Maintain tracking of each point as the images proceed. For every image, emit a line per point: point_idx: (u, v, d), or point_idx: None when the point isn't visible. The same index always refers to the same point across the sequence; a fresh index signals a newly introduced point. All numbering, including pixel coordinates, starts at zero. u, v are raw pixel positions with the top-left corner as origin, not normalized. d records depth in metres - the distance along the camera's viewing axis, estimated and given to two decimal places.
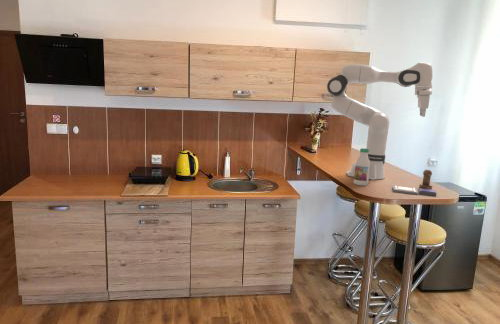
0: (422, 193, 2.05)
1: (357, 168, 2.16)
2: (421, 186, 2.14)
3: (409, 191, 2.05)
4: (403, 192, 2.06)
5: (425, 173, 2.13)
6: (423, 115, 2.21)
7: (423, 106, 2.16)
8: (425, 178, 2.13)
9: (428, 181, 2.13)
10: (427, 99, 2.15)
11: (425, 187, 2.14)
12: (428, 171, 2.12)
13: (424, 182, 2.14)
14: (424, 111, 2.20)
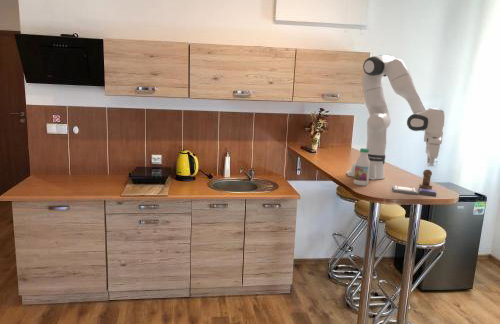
0: (422, 193, 2.05)
1: (357, 168, 2.16)
2: (421, 186, 2.14)
3: (409, 191, 2.05)
4: (403, 192, 2.06)
5: (425, 173, 2.13)
6: (431, 164, 2.07)
7: (432, 156, 2.02)
8: (425, 178, 2.13)
9: (428, 181, 2.13)
10: (437, 149, 2.01)
11: (425, 187, 2.14)
12: (428, 171, 2.12)
13: (424, 182, 2.14)
14: (432, 160, 2.06)
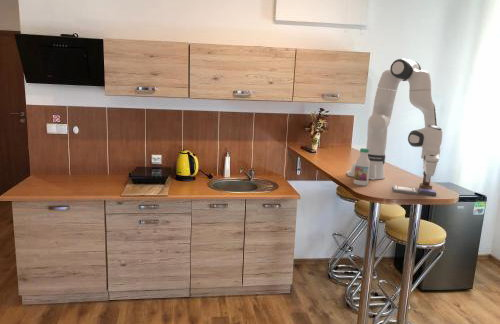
0: (422, 193, 2.05)
1: (357, 168, 2.16)
2: (421, 186, 2.14)
3: (409, 191, 2.05)
4: (403, 192, 2.06)
5: None
6: (427, 180, 2.12)
7: (428, 173, 2.04)
8: (425, 178, 2.13)
9: None
10: (434, 167, 2.03)
11: (425, 187, 2.14)
12: None
13: (424, 182, 2.14)
14: (428, 177, 2.10)
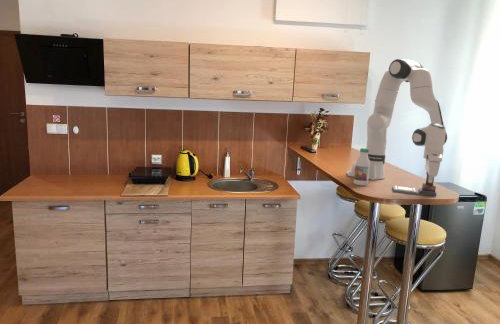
0: (422, 193, 2.05)
1: (357, 168, 2.16)
2: (424, 186, 2.05)
3: (409, 191, 2.05)
4: (403, 192, 2.06)
5: None
6: (430, 181, 2.03)
7: (431, 174, 1.96)
8: (428, 178, 2.04)
9: None
10: (437, 167, 1.95)
11: (428, 187, 2.05)
12: None
13: (427, 182, 2.05)
14: (431, 177, 2.02)
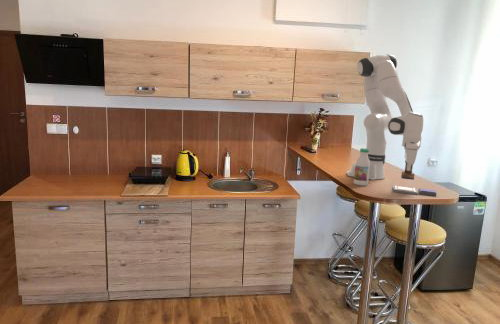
0: (422, 193, 2.05)
1: (357, 168, 2.16)
2: (403, 174, 2.08)
3: (409, 191, 2.05)
4: (403, 192, 2.06)
5: None
6: (408, 169, 2.05)
7: (409, 161, 1.98)
8: None
9: (410, 169, 2.06)
10: (414, 154, 1.97)
11: (407, 175, 2.07)
12: None
13: (406, 170, 2.07)
14: (409, 165, 2.04)
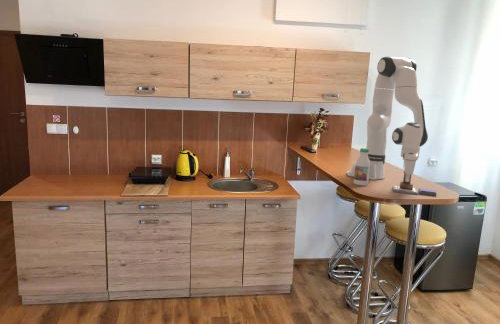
0: (422, 193, 2.05)
1: (357, 168, 2.16)
2: (402, 185, 2.09)
3: (409, 191, 2.05)
4: (403, 192, 2.06)
5: None
6: (407, 180, 2.04)
7: (407, 172, 1.99)
8: None
9: (409, 179, 2.08)
10: (412, 165, 1.98)
11: (406, 186, 2.08)
12: None
13: None
14: (408, 176, 2.03)
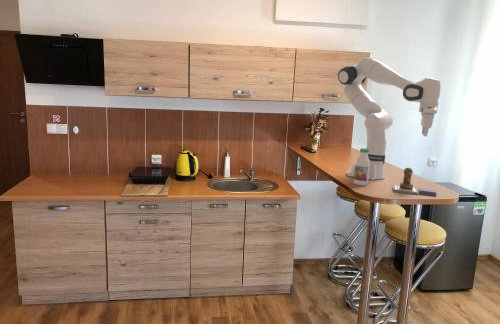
0: (422, 193, 2.05)
1: (357, 168, 2.16)
2: (402, 185, 2.09)
3: (409, 191, 2.05)
4: (403, 192, 2.06)
5: (405, 171, 2.07)
6: (425, 135, 2.06)
7: (425, 125, 2.00)
8: (406, 176, 2.08)
9: (409, 179, 2.08)
10: (431, 118, 1.99)
11: (406, 186, 2.08)
12: (409, 169, 2.07)
13: (405, 180, 2.08)
14: (426, 130, 2.04)
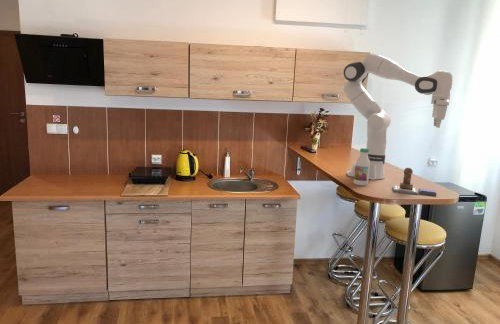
0: (422, 193, 2.05)
1: (357, 168, 2.16)
2: (402, 185, 2.09)
3: (409, 191, 2.05)
4: (403, 192, 2.06)
5: (405, 171, 2.07)
6: (438, 126, 2.11)
7: (439, 117, 2.06)
8: (406, 176, 2.08)
9: (409, 179, 2.08)
10: (444, 110, 2.05)
11: (406, 186, 2.08)
12: (409, 169, 2.07)
13: (405, 180, 2.08)
14: (439, 122, 2.09)
